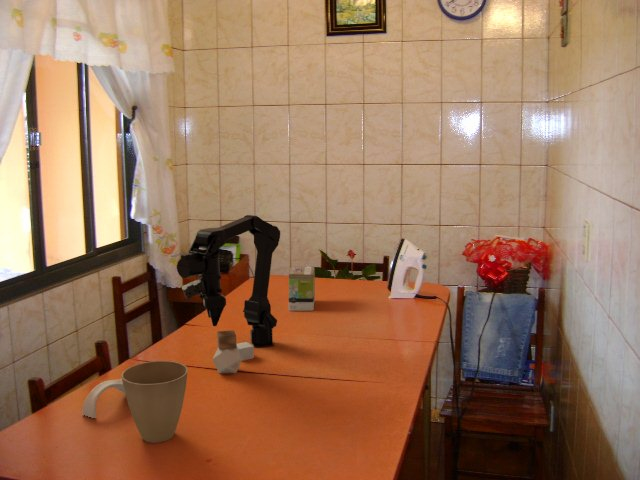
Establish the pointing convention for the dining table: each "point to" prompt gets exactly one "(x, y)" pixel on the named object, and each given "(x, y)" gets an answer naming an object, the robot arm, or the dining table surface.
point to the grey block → (246, 350)
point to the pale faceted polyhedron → (227, 360)
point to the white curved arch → (93, 396)
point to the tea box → (301, 288)
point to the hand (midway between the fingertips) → (212, 321)
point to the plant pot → (155, 397)
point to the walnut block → (226, 340)
